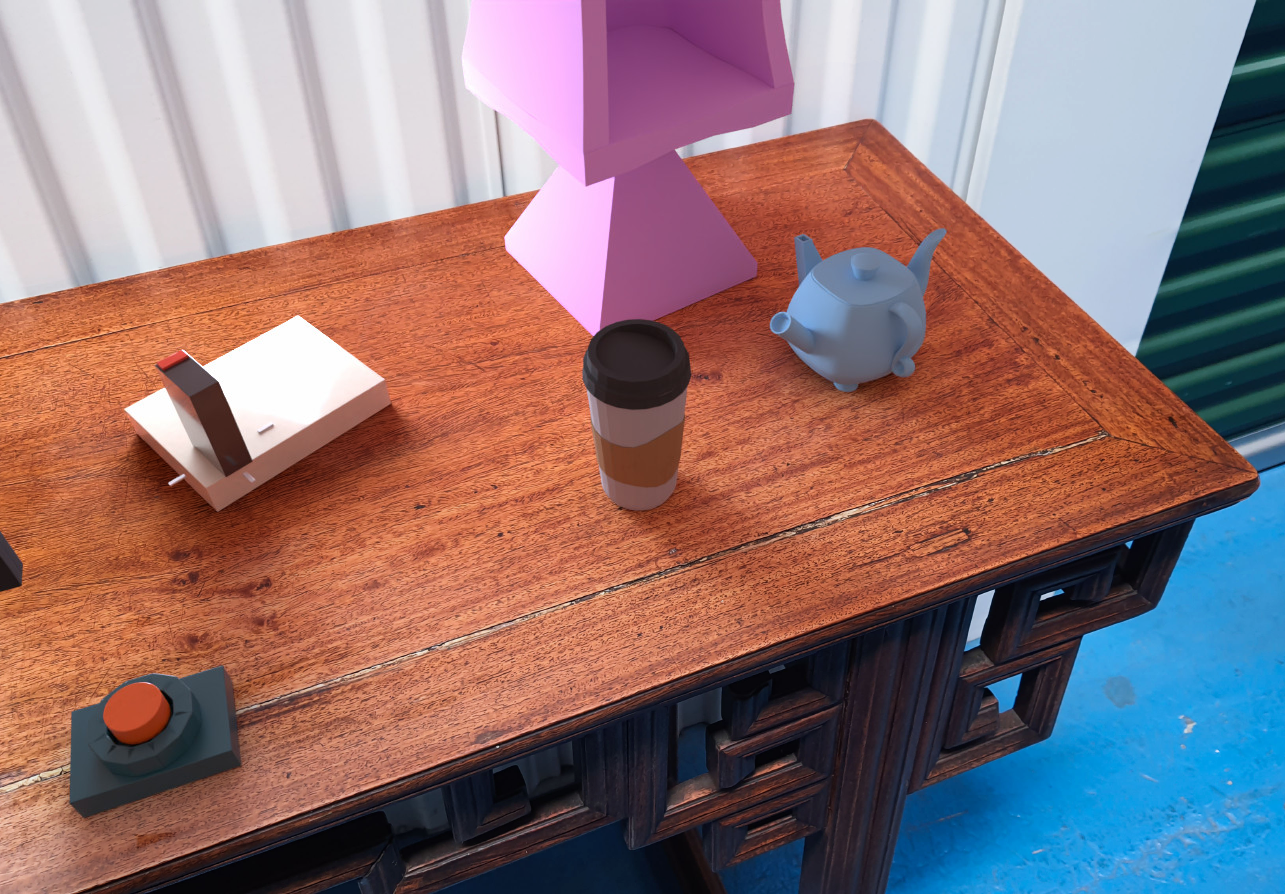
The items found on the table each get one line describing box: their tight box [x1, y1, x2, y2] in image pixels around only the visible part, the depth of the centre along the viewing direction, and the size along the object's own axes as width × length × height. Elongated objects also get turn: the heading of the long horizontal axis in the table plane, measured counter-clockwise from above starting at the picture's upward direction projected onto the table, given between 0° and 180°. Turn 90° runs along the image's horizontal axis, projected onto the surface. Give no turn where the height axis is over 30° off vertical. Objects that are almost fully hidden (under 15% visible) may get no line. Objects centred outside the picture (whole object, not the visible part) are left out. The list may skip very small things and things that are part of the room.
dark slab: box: [154, 349, 253, 477], centre depth 80 cm, size 6×2×9 cm, turn 47°
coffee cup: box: [581, 319, 692, 512], centre depth 79 cm, size 8×8×15 cm
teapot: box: [769, 227, 947, 393], centre depth 92 cm, size 15×14×11 cm
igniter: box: [68, 664, 242, 819], centre depth 67 cm, size 10×7×4 cm
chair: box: [461, 0, 795, 337], centre depth 91 cm, size 22×22×45 cm
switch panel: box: [123, 315, 392, 513], centre depth 89 cm, size 20×16×3 cm
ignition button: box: [103, 682, 171, 744], centre depth 65 cm, size 4×4×2 cm
